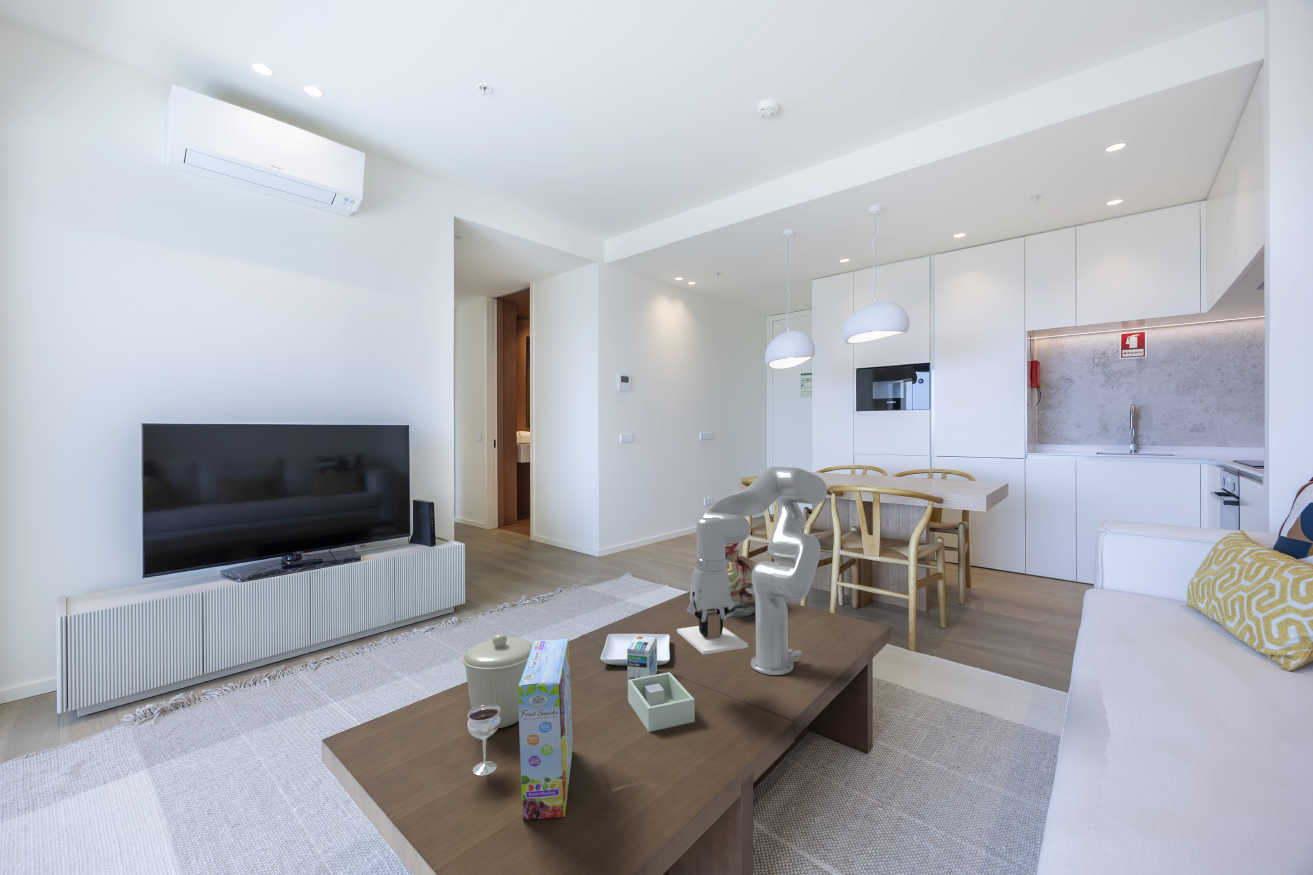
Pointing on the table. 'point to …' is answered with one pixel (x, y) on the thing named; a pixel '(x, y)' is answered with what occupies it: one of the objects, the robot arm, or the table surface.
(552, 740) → the snack box
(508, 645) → the canister
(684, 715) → the box
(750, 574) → the rose bouquet
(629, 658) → the light bulb box
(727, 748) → the table surface
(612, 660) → the salad plate
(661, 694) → the grey cube
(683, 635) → the lid
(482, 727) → the wineglass
